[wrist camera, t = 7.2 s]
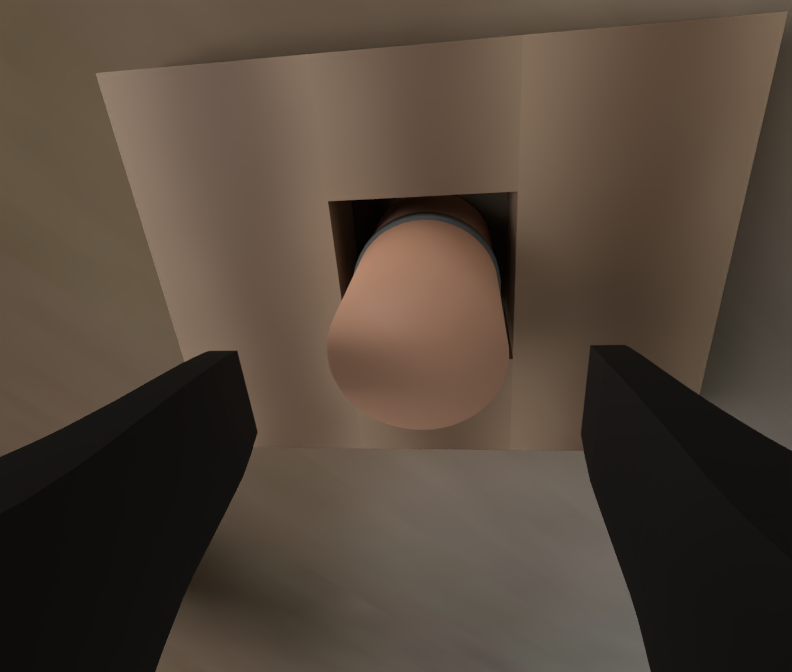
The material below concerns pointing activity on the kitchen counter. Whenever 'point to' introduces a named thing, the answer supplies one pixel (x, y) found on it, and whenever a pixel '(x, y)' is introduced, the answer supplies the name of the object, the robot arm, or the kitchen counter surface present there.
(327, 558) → the kitchen counter surface
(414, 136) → the socket board
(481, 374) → the peg
